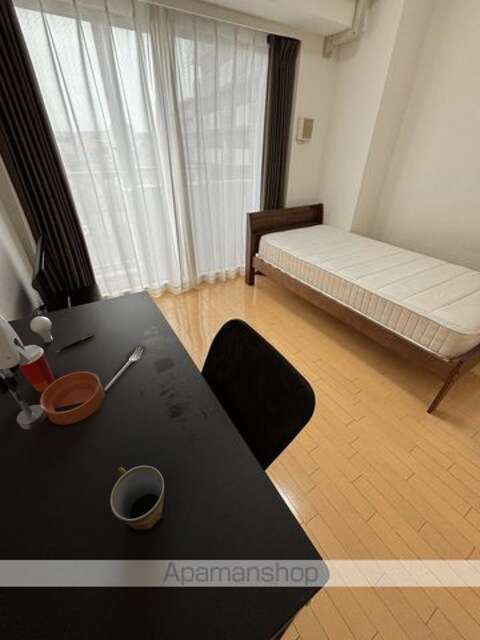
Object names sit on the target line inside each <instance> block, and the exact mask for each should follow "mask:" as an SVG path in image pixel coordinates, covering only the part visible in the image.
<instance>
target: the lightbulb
mask: <svg viewBox="0 0 480 640" xmlns="http://www.w3.org/2000/svg"><path fill="white" fill-rule="evenodd" d="M52 325H53V324H52V321H51V320H50V319H49V318H48V317H46V316H43V315H41V316H35V317H34V318H32V319H31V321H30V325H29V327H30V330H31V331H32V332H34V333H35V334H37V335H39V336H40V337H41V338H42V339H43V341H44V343H51V342H52V341H53V340H54V339H53V337H52V335H51V329H52Z"/></svg>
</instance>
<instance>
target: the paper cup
mask: <svg viewBox="0 0 480 640" xmlns="http://www.w3.org/2000/svg"><path fill="white" fill-rule="evenodd" d="M24 348H25V351H26V352H27V353H28V354H29V355H30V356H31V357H32V358H31V360H30V362H29V363H27V364H25V365H22V366H19V368H18V369H19V370H20V371H21V374H23V376H24V378H26V380H27V381H28V382H29V384H30V385H31V386H32V388H33V389H34V390H35V391H36V392H38V393H43V392H44V391H45V389H46V388H47V387H48V386H49V385H50V384H51V383H53V382H54V381H55V380H56V379H55V377H54V374H53V371H52V370H51V367H50V365H49V362H48V361H47V358H46V356H45V354H44V349H43V348H42V347H40V346H38V345H37V344H28V345H24Z"/></svg>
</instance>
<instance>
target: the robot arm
mask: <svg viewBox="0 0 480 640" xmlns="http://www.w3.org/2000/svg"><path fill="white" fill-rule="evenodd" d="M24 347H25V345H24V344H23V341H22V340H21V338H20V337H19V335H18V334H17V332H16V331H15V330H14V328H13V327H12V325H11V324H10V323H9V322H8V321H7V320H6V319H5V318H4V316H3V315H2V314H0V369H2V371H3V373H4V375H5V378H4V381H5V382H6V383H7V385H8V386H9V388H10V389H11V391H12V392H17V391H19V389H20V386H21V385H22V383H23V378H22V377H21V375H20V374H19V372H18V369H19V366H22V365H25V364H27V363H29V362H30V360H31V358H32V357H31V356H30V355H29V354H28V353H27V352H26V351H25V348H24ZM8 391H9V389H8V388H7V386H6V385H5V383H4V382H3V380H2V379H1V378H0V394H1V395H6V394H7V393H8Z"/></svg>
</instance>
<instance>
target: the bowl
mask: <svg viewBox="0 0 480 640" xmlns="http://www.w3.org/2000/svg"><path fill="white" fill-rule="evenodd" d="M105 392H106V391H104V388H103V385H102V382H101V380H100V378H99V377H98V375H96V374H95V373H94V372H90V371H75V372H70V373H68V374H65V375H62V376H60V377H59V378H56V379H55V381H54V382H53V383H51V384H50V385H49V386H48V387H47V388H46V389H45V391H44V392H41V395H40V398H39V405H40V406H42V407H43V409H44V411H45V412H46V418H47V419H48V420H49V421H50V422H52V423H54V424H56V425H69V424H70V425H71V424H75V423H78V422H80V421H82V420H85V419H87V418H88V417H89V416H91V415H92V414H93V413H95V412H96V411H97V410H98V409H99V408H100V406H101V405H102V403H103V401H104V400H105V397H106V393H105ZM77 404H81V405H79V406H75V407H73V408H72V409H71V408H70V409H68V410H64V411H56V410H55V409H58V408H63V407H67V406H72V405H77Z"/></svg>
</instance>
